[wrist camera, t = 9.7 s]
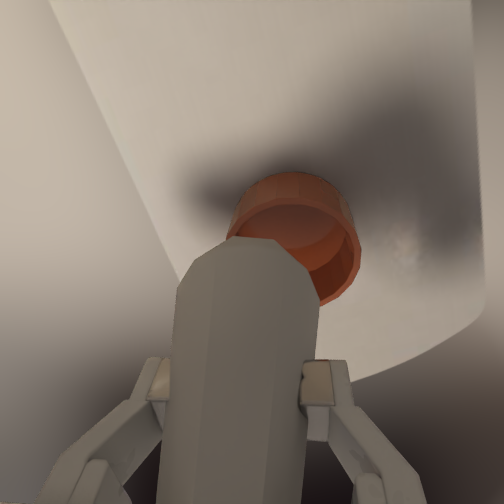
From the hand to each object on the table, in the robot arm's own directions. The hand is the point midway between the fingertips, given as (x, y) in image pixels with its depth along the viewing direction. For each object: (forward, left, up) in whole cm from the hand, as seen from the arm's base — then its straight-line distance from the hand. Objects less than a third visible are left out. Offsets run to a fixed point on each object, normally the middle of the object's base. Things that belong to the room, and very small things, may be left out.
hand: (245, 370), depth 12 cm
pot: (-1, +8, -24) cm, 26 cm away
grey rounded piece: (0, 0, -6) cm, 6 cm away
